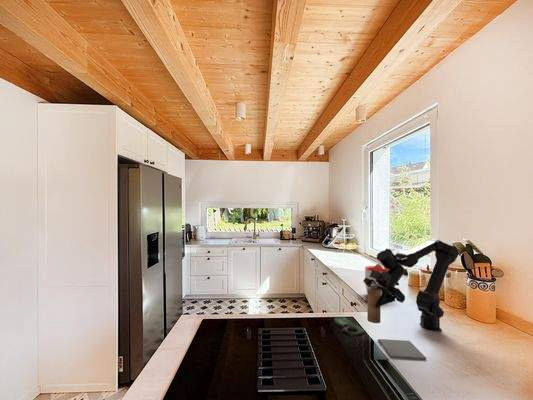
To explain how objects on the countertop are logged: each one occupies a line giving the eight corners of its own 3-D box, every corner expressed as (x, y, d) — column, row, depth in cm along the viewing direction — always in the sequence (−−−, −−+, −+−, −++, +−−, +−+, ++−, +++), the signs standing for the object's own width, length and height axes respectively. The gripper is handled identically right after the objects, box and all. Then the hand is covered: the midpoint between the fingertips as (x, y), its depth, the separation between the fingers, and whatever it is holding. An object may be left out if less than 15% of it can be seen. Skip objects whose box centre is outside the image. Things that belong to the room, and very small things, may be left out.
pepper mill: (377, 318, 110) (377, 284, 111) (382, 323, 105) (382, 287, 106) (365, 317, 111) (365, 283, 111) (369, 323, 106) (369, 287, 106)
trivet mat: (409, 342, 103) (409, 340, 103) (426, 360, 91) (426, 357, 91) (378, 341, 104) (378, 339, 104) (390, 358, 92) (390, 355, 92)
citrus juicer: (394, 295, 163) (394, 262, 164) (390, 303, 148) (390, 267, 149) (368, 290, 171) (368, 259, 172) (362, 297, 157) (362, 264, 158)
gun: (326, 318, 122) (345, 316, 125) (326, 321, 122) (345, 319, 125) (348, 334, 107) (368, 331, 110) (348, 338, 107) (368, 335, 110)
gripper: (366, 259, 119) (345, 285, 115) (399, 268, 101) (376, 299, 97) (380, 275, 121) (360, 302, 117) (415, 287, 103) (392, 318, 100)
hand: (371, 304), depth 108 cm, fingers closed on pepper mill, 5 cm apart
